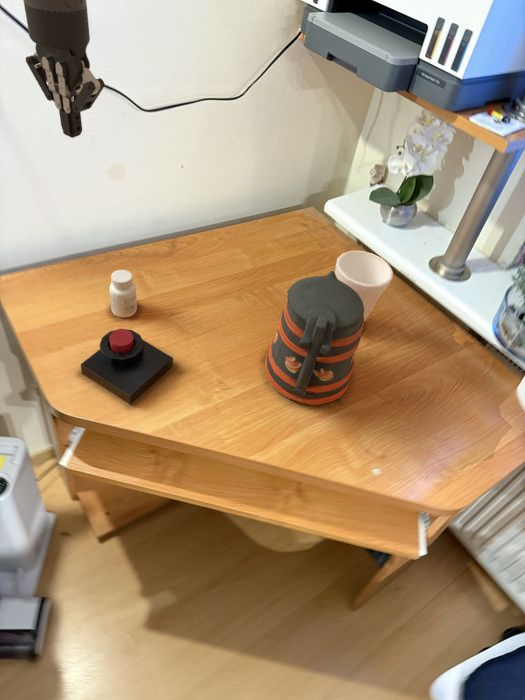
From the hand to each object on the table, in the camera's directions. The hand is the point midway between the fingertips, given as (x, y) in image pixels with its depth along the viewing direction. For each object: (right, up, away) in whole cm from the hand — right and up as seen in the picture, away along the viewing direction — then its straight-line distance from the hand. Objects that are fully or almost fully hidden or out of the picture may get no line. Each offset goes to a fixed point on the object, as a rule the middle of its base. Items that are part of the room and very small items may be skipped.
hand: (72, 134), depth 77 cm
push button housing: (+7, -36, +5) cm, 37 cm away
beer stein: (+36, -38, +9) cm, 53 cm away
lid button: (+6, -32, +4) cm, 32 cm away
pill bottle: (+4, -25, +15) cm, 29 cm away
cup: (+44, -27, +21) cm, 56 cm away
